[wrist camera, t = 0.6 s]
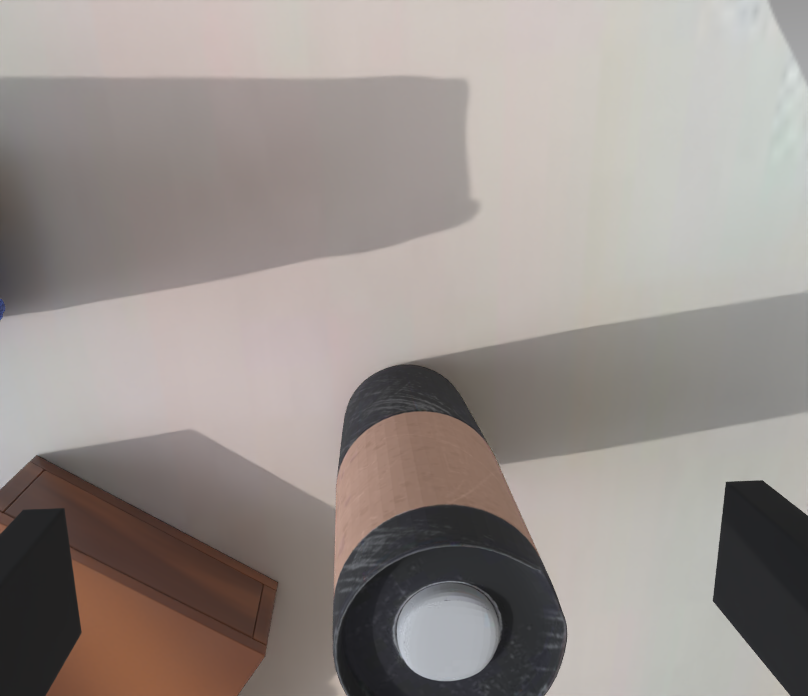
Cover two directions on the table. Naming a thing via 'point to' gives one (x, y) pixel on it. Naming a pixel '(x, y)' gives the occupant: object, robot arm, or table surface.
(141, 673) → the case lid
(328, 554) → the table surface
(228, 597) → the case
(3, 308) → the lunch box
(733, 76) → the table surface
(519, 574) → the travel mug
